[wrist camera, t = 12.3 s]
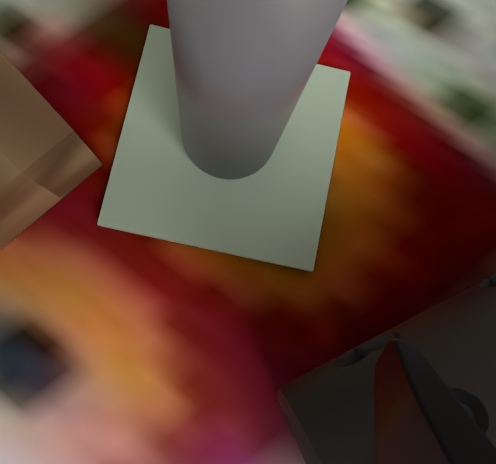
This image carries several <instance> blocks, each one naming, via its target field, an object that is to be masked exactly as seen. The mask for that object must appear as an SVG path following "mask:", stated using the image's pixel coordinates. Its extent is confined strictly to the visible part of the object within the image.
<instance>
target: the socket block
mask: <svg viewBox="0 0 496 464" xmlns="http://www.w3.org/2000/svg"><path fill="white" fill-rule="evenodd" d="M102 165H103V164H102V163H101V162H100V160H99V159H98V158H97V157H96V156H95V155H94V154H93V152H92V151H91V150H90V149H89V148H88V147H87V145H86V144H85V143H84V142H83V141H82V140H81V138H80V137H79V136H78V135H77V134H76V133H75V131H74V130H73V129H72V128H71V127H70V126H69V125H68V124H67V123H66V122H65V120H64V119H63V118H62V117H61V116H60V115H59V114H58V113H57V112H56V111H55V110H54V108H53V107H52V106H51V105H50V104H49V103H48V102H47V101H46V100H45V99H44V98H43V97H42V95H41V94H40V93H39V92H38V91H37V90H36V89H35V88H34V87H33V86H32V85H31V83H30V82H29V81H28V80H27V79H26V78H25V77H24V76H23V75H22V74H21V73H20V72H19V70H18V69H17V68H16V67H15V66H14V65H13V64H12V63H11V62H10V61H9V60H8V58H7V57H6V56H5V55H4V54H3V53H2V52H1V51H0V250H1V249H2V248H3V247H5V246H6V245H7V244H8V243H9V242H11V241H12V240H13V239H14V238H15V237H17V236H18V235H19V234H20V233H21V232H23V231H24V230H25V229H26V228H27V227H29V226H30V225H31V224H32V223H33V222H35V221H36V220H37V219H38V218H39V217H41V216H42V215H43V214H44V213H45V212H47V211H48V210H49V209H50V208H51V207H53V206H54V205H55V204H56V203H57V202H59V201H60V200H61V199H62V198H63V197H65V196H66V195H67V194H68V193H69V192H71V191H72V190H73V189H74V188H75V187H77V186H78V185H79V184H80V183H81V182H83V181H84V180H85V179H86V178H87V177H89V176H90V175H91V174H92V173H93V172H95V171H96V170H97V169H98V168H99V167H101V166H102Z"/></svg>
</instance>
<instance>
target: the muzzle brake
mask: <svg viewBox="0 0 496 464" xmlns="http://www.w3.org/2000/svg"><path fill="white" fill-rule="evenodd" d="M392 338H398V339H403V340H407V341H410V342H412V343H413V344H414V345H415V346H416V347H417V349H418V350H419V351H420V353H421V354H422V355H423V356H424V358H425V359H426V360H427V361H428V363H429V364H430V365H431V367H432V368H433V369H434V370H435V372H436V373H437V374H438V375H439V377H440V378H441V379H442V381H443V382H444V383H445V384H446V386H447V387H448V388H449V389H450V391H451V392H452V393H453V395H454V396H455V397H456V398H457V400H458V401H459V402H460V403H461V405H462V406H463V407H464V408H465V410H466V411H467V412H468V414H469V415H470V416H471V417H472V419H473V420H474V421H475V422H476V424H477V425H478V426H479V428H480V429H481V430H482V431H483V433H484V434H485V435H486V436H487V438H488V439H489V440H490V442H491V443H492V444H493V445H494V447H495V448H496V273H495V274H493V275H492V276H490V277H488V278H485V279H484V280H482V281H480V282H478V283H476V284H474V285H472V286H470V287H468V288H466V289H465V290H463V291H461V292H459V293H457V294H455V295H453V296H451V297H449V298H447V299H446V300H444V301H442V302H440V303H438V304H436V305H434V306H432V307H430V308H428V309H427V310H425V311H423V312H421V313H419V314H417V315H415V316H413V317H411V318H409V319H407V320H406V321H404V322H402V323H400V324H398V325H396V326H394V327H392V328H390V329H388V330H387V331H385V332H383V333H381V334H379V335H377V336H375V337H373V338H371V339H370V340H368V341H366V342H364V343H362V344H360V345H359V346H357V347H355V348H353V349H351V350H349V351H347V352H345V353H343V354H341V355H339V356H337V357H335V358H333V359H331V360H330V361H328V362H326V363H324V364H322V365H320V366H318V367H316V368H314V369H312V370H311V371H309V372H307V373H305V374H303V375H301V376H299V377H297V378H295V379H293V380H292V381H290V382H288V383H286V384H284V385H282V386H280V387H278V391H277V399H278V402H279V404H280V406H281V409H282V411H283V413H284V416H285V418H286V420H287V422H288V425H289V427H290V429H291V431H292V433H293V436H294V438H295V440H296V442H297V444H298V446H299V449H300V451H301V453H302V455H303V457H304V459H305V461H306V464H377V459H376V449H375V429H374V369H375V364H376V362H377V360H378V358H379V356H380V355H381V353H382V351H383V349H384V348H385V346H386V344H387V343H388V341H389V340H390V339H392Z"/></svg>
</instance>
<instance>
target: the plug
mask: <svg viewBox="0 0 496 464" xmlns="http://www.w3.org/2000/svg"><path fill="white" fill-rule="evenodd" d="M346 2H347V0H167V6H168V15H169V24H170V33H171V42H172V51H173V60H174V69H175V78H176V87H177V97H178V106H179V115H180V124H181V133H182V141H183V145H184V148H185V150H186V153H187V154H188V156H189V158H190V159H191V160H192V162H193V163H194V164H195V165H196V166H197V167H198V168H199V169H201V170H202V171H203V172H205V173H207V174H209V175H211V176H213V177H217V178H221V179H232V180H233V179H240V178H244V177H247V176H250V175H252V174H254V173H256V172H257V171H258V170H260V169H261V168H262V167H263V166H264V165H265V164H266V163H267V162H268V160H269V159H270V157H271V155H272V153H273V151H274V149H275V147H276V145H277V143H278V141H279V139H280V137H281V135H282V133H283V131H284V129H285V127H286V125H287V123H288V121H289V119H290V117H291V115H292V113H293V111H294V108H295V106H296V104H297V102H298V100H299V98H300V96H301V94H302V92H303V90H304V88H305V86H306V84H307V82H308V80H309V78H310V76H311V74H312V72H313V70H314V68H315V66H316V64H317V62H318V60H319V58H320V55H321V53H322V51H323V49H324V47H325V45H326V43H327V41H328V39H329V37H330V35H331V33H332V31H333V29H334V27H335V25H336V23H337V21H338V19H339V17H340V15H341V13H342V11H343V9H344V7H345V5H346Z"/></svg>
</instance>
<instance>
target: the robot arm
mask: <svg viewBox="0 0 496 464" xmlns="http://www.w3.org/2000/svg"><path fill="white" fill-rule="evenodd" d="M374 429H375V449H376V459H377V464H496V448H495V447H494V445H493V444H492V443H491V442H490V440H489V439H488V438H487V436H486V435H485V434H484V433H483V431H482V430H481V429H480V428H479V426H478V425H477V424H476V422H475V421H474V420H473V419H472V417H471V416H470V415H469V414H468V412H467V411H466V410H465V408H464V407H463V406H462V405H461V403H460V402H459V401H458V400H457V398H456V397H455V396H454V395H453V393H452V392H451V391H450V389H449V388H448V387H447V386H446V384H445V383H444V382H443V381H442V379H441V378H440V377H439V375H438V374H437V373H436V372H435V370H434V369H433V368H432V367H431V365H430V364H429V363H428V361H427V360H426V359H425V358H424V356H423V355H422V354H421V353H420V351H419V350H418V349H417V347H416V346H415V345H414V344H413V343H412V342H410V341H407V340H403V339H398V338H392V339H390V340H389V341H388V343H387V344H386V346H385V348H384V349H383V351H382V353H381V355H380V356H379V358H378V360H377V362H376V364H375V369H374Z"/></svg>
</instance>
